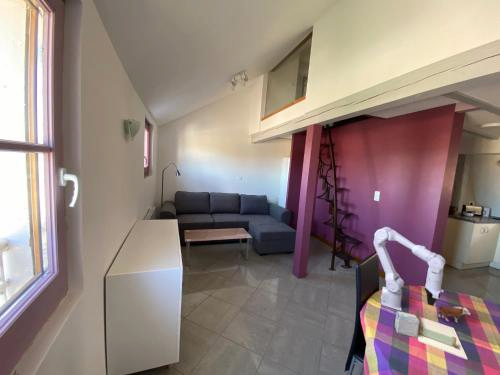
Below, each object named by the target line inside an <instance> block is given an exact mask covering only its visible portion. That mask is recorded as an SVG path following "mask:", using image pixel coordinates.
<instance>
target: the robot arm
mask: <svg viewBox="0 0 500 375" xmlns="http://www.w3.org/2000/svg"><path fill="white" fill-rule="evenodd" d="M373 236H374V237H373V238H374V239H373V246H374V248H375V251H376V253H377V256H378V258H379V261H380V263H381V266H382V269H383V270H384V273H385V278H384V280H385V286H382V290H381V295H380V304H381V306H385V307H388V308H391V309H394V310H396V311H399V312H403V311H402V296H403V289H402V288H403V287H404V286H405V282H404V280H403V279H402V278H401V276H400V274H399V273H398V272H397V271H396V269H395V267H394V264H393V262H392V259H391V256H390V254H389V253H388V250H387V247H386V243H387V241H390V242H392V241H393V242H397V243H399V244H401V245H403V246H404V247H406V248H408V249H409V250H411V253H412V254H413V255H414V256H416V257H418V258H419V259H420V260H422V261H424V262H425V263H427V265H428V268H427V274H426V281H425V285H424V291H425V294H426V302H427V305H429V306H433V307H434V306H435V304H436V302H437V300H439V298H441V294H440V293H444V289H443V288H442V283H443V276H444V266H445V265H446V259H445V258H444V257H443V256H442V255H440V254H437V253H436V252H432V251H430V250H429V249H427V248H426V246H425V245H420V244H415V243H414V242H411V241H410V240H409V239H407V238H406V237H404V236H403V235H401V234H400V233H398V232H397V231H396V230H394V229H392V228H391V227H389V226H384V227H382V228H380V229H377V230H376V231H375V233H374V235H373Z"/></svg>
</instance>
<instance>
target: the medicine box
mask: <svg viewBox="0 0 500 375" xmlns="http://www.w3.org/2000/svg"><path fill="white" fill-rule="evenodd" d="M418 327H419V320H418V319H417V317H416V315H415V314H412V313H409V312H404V311H399V310H396V312H395V321H394V328H395V331H396V333H397V334H400V335H404V336H409V337H412V338H416V339H418V337H417V334H418Z"/></svg>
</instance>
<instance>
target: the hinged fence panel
mask: <svg viewBox="0 0 500 375" xmlns="http://www.w3.org/2000/svg"><path fill="white" fill-rule="evenodd" d="M418 334H419V335H423V336H426V337H429V338H431V339H434V340H437V341H440V342H442V343H445V344H448V345H451V346H453V347H455V346H456V340H457V339H456V338H455V337H449V336H446V335H444V334H441V333H438V332H435V331H432V330H429V329H426V328H423V326H421V325H419V327H418Z"/></svg>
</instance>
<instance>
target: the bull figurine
mask: <svg viewBox="0 0 500 375" xmlns="http://www.w3.org/2000/svg"><path fill="white" fill-rule="evenodd" d="M438 310H439V311H438V312H437V314H438V315H437V317H439V318H440V319H441V318H442V319H445V321H446V322H450V320H449V319H448V317H453V319H454V321H455V322H456V323H457V324H458V323H459V322H458V320H459V318H460V317H461V316H463V315H468V316H471V312H470V311H469V309H467V307H465V306H462V307H461V306H447V305H440V306H438Z"/></svg>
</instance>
